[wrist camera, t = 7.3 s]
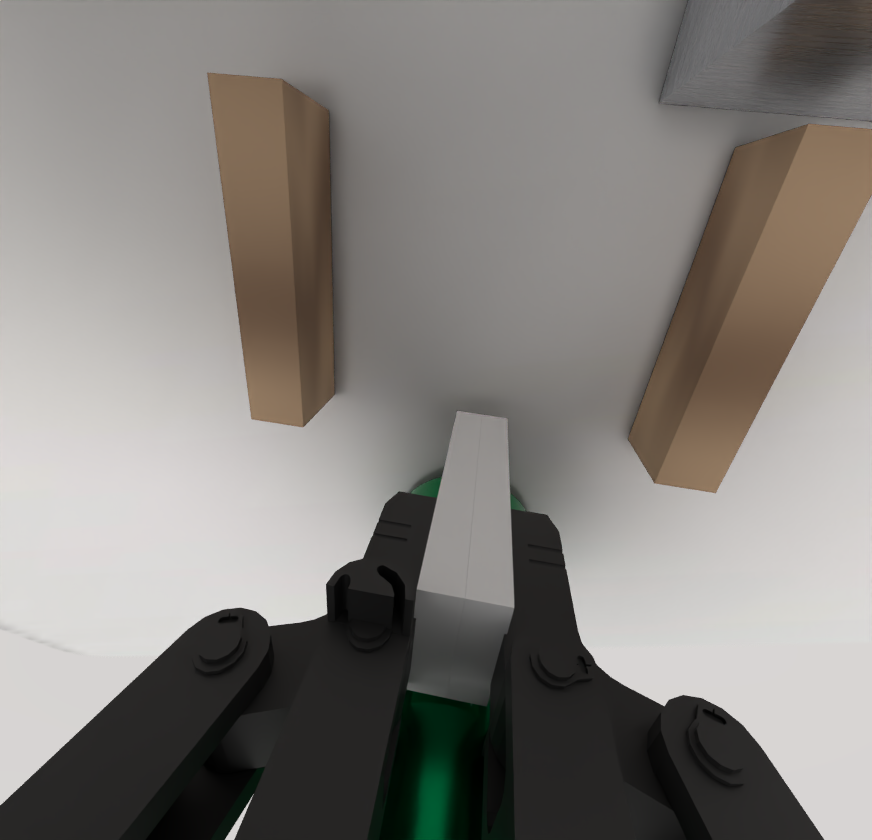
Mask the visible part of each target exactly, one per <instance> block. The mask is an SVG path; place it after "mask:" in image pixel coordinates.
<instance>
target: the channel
mask: <svg viewBox="0 0 872 840" xmlns="http://www.w3.org/2000/svg"><path fill="white" fill-rule="evenodd" d="M207 74H208V82H209V90H210V98H211V106H212V114H213V121H214V129H215V137H216V145H217V153H218V161H219V168H220V176H221V184H222V192H223V200H224V208H225V215H226V223H227V231H228V239H229V247H230V254H231V262H232V270H233V278H234V286H235V294H236V301H237V309H238V317H239V325H240V333H241V341H242V348H243V356H244V364H245V372H246V380H247V388H248V395H249V403H250V411H251V419H254V420H260V421H267V422H273V423H279V424H285V425H292V426H298V427H304V426H305V425H306V424H307V423H308V422H309V421H310V420H311V419H312V418H313V417H314V416H315V415H316V414H317V412H318V411H319V410H320V409H321V408H322V407H323V406H324V405H325V404H326V403H327V402H328V401H329V400H330V399H331V398H332V397H333V396H334V395H335V390H334V340H333V289H332V238H331V187H330V137H329V110H327V109H326V108H324V107H323V106H321V105H320V104H318V103H317V102H315V101H314V100H312V99H311V98H309V97H308V96H306V95H305V94H303V93H302V92H300V91H299V90H297V89H296V88H294V87H293V86H291V85H290V84H288V83H287V82H285V81H284V80H282V79H275V78H264V77H252V76H240V75H228V74H217V73H207ZM871 195H872V129H863V128H851V127H840V126H828V125H816V124H807V125H804V126H801V127H798V128H794V129H791V130H788V131H785V132H782V133H779V134H776V135H773V136H770V137H767V138H763V139H760V140H757V141H754V142H751V143H748V144H745V145H742V146H739V147H735V150H734V153H733V156H732V158H731V161H730V164H729V166H728V169H727V172H726V175H725V177H724V180H723V183H722V185H721V188H720V191H719V194H718V196H717V199H716V202H715V204H714V207H713V210H712V213H711V215H710V218H709V221H708V223H707V226H706V229H705V232H704V234H703V237H702V240H701V242H700V245H699V248H698V250H697V253H696V256H695V259H694V261H693V264H692V267H691V269H690V272H689V275H688V278H687V280H686V283H685V286H684V288H683V291H682V294H681V297H680V299H679V302H678V305H677V307H676V310H675V313H674V316H673V318H672V321H671V324H670V326H669V329H668V332H667V335H666V337H665V340H664V343H663V345H662V348H661V351H660V354H659V356H658V359H657V362H656V364H655V367H654V370H653V373H652V375H651V378H650V381H649V383H648V386H647V389H646V391H645V394H644V397H643V400H642V402H641V405H640V408H639V410H638V413H637V416H636V419H635V421H634V424H633V427H632V429H631V432H630V435H629V438H628V440H629V442H630V443H631V445H632V447H633V448H634V450H635V452H636V453H637V455H638V457H639V458H640V460H641V462H642V463H643V465H644V467H645V468H646V470H647V472H648V473H649V475H650V477H651V478H652V480H653V482H654V483H656V484H662V485H669V486H675V487H681V488H687V489H694V490H700V491H706V492H712V493H716V491H717V490H718V488H719V486H720V484H721V482H722V480H723V478H724V476H725V474H726V472H727V470H728V468H729V467H730V465H731V463H732V461H733V459H734V457H735V455H736V453H737V451H738V449H739V447H740V446H741V444H742V442H743V440H744V438H745V436H746V434H747V432H748V430H749V428H750V426H751V424H752V423H753V421H754V419H755V417H756V415H757V413H758V411H759V409H760V407H761V405H762V403H763V402H764V400H765V398H766V396H767V394H768V392H769V390H770V388H771V386H772V384H773V382H774V380H775V379H776V377H777V375H778V373H779V371H780V369H781V367H782V365H783V363H784V361H785V359H786V358H787V356H788V354H789V352H790V350H791V348H792V346H793V344H794V342H795V340H796V338H797V336H798V335H799V333H800V331H801V329H802V327H803V325H804V323H805V321H806V319H807V317H808V315H809V314H810V312H811V310H812V308H813V306H814V304H815V302H816V300H817V298H818V296H819V294H820V292H821V291H822V289H823V287H824V285H825V283H826V281H827V279H828V277H829V275H830V273H831V271H832V270H833V268H834V266H835V264H836V262H837V260H838V258H839V256H840V254H841V252H842V250H843V248H844V247H845V245H846V243H847V241H848V239H849V237H850V235H851V233H852V231H853V229H854V227H855V226H856V224H857V222H858V220H859V218H860V216H861V214H862V212H863V210H864V208H865V206H866V204H867V203H868V201H869V199H870V197H871Z"/></svg>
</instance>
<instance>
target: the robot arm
mask: <svg viewBox="0 0 872 840" xmlns="http://www.w3.org/2000/svg"><path fill="white" fill-rule="evenodd" d="M326 593H327V614H326V615H324V616H322V617H320V618H317V619H315V620H311V621H306V622H301V623H293V624H285V625H276V626H268V624H267V621H266V619H264V618H263V617H262V616H261V615H260V614H258V613H257V612H256V611H252V610H248V609H244V608H234V609H225V610H221V611H219V612H216V613H214V614H211V615H209V616H206V617H204V618H203V619H202V620H200V621H199V622H197V623H196V624H195V625H193V626H192V627H191V628H189V629H188V630H187V631H186V632H185V633H184V634H182V635H181V636H180V637H179V638H178V639H177V640H176V641H175V642H174V643H173V644H172V645H171V646H170V647H169V648H168V649H167V650H165V651H164V652H163V653H162V654H161V655H160V656H159V657H158V658H157V659H156V660H155V661H154V662H153V663H152V664H151V665H150V666H148V667H147V668H146V669H145V670H144V671H143V672H142V673H141V674H140V675H139V676H138V677H137V678H136V679H135V680H134V681H133V682H132V683H130V684H129V685H128V686H127V687H126V688H125V689H124V690H123V691H122V692H121V693H120V694H119V695H118V696H116V697H115V698H114V699H113V700H112V701H111V702H110V703H109V704H108V705H107V706H106V707H105V708H104V709H103V710H102V711H101V712H100V713H98V714H97V716H95V717H94V718H93V719H92V720H91V721H90V722H89V723H88V724H87V725H86V726H85V727H84V728H82V729H81V730H80V731H79V732H78V733H77V734H76V735H75V736H74V737H73V738H72V739H71V740H70V741H69V742H68V743H66V744H65V745H64V746H63V747H62V748H61V749H60V750H59V751H58V752H57V753H56V754H55V755H54V756H53V757H52V758H51V759H49V760H48V761H47V762H46V763H45V764H44V765H43V766H42V767H41V768H40V769H39V770H38V771H37V772H36V773H35V774H33V775H32V776H31V777H30V778H29V779H28V780H27V781H26V782H25V783H24V784H23V785H22V786H21V787H20V788H19V789H18V790H16V791H15V792H14V793H13V794H12V795H11V796H10V797H9V798H8V799H7V800H6V801H5V802H4V803H3V804H1V805H0V840H225V838H226V837H227V835H228V833H229V832H230V830H231V829H232V827H233V826H234V824H235V822H236V821H237V819H238V818H239V816H240V815H241V813H242V811H243V810H244V808H245V807H246V805H247V804H248V802H249V800H250V799H251V797H252V796H253V797H252V800H251V802H250V804H249V807H248V809H247V811H246V814H245V816H244V818H243V821H242V823H241V825H240V828H239V830H238V832H237V835H236V837H235V839H234V840H379V837H380V831H381V826H382V821H383V816H384V811H385V805H386V800H387V795H388V790H389V785H390V780H391V774H392V769H393V764H394V759H395V754H396V748H397V743H398V738H399V733H400V728H401V719H402V710H403V705H404V700H405V695H406V690H411V691H416V692H420V693H425V694H430V695H434V696H439V697H444V698H449V699H453V700H458V701H463V702H468V703H472V704H477V705H482V706H487V704H488V701H489V697H490V723H489V727H488V730H487V734H486V737H485V741H484V745H483V750H482V756H484V777H483V808H482V838H481V840H824V839H823V837H822V836H821V834H820V833H819V831H818V830H817V828H816V827H815V826H814V824H813V823H812V821H811V820H810V818H809V817H808V815H807V814H806V812H805V811H804V810H803V808H802V806H801V805H800V804H799V802H798V801H797V799H796V798H795V796H794V795H793V793H792V792H791V790H790V789H789V787H788V786H787V785H786V783H785V782H784V780H783V779H782V777H781V776H780V774H779V773H778V771H777V770H776V768H775V767H774V766H773V764H772V763H771V761H770V760H769V758H768V757H767V755H766V754H765V752H764V751H763V750H762V748H761V747H760V746H759V744H758V743H757V742H756V741H755V739H754V738H753V737H752V736H751V735H750V733H749V732H748V731H747V730H746V729H745V727H744V726H743V725H742V724H740V723H739V722H738V721H737V720H736V719H734V718H733V717H732V716H731V715H729V714H728V713H727V712H726V711H724V710H723V709H722V708H720V707H718V706H716V705H714V704H712V703H710V702H708V701H706V700H704V699H702V698H697V697H691V696H685V695H682V696H679V697H676V698H673V699H670V700H669V701H668V702H667V704H666V705H665V706H663V705H660V704H659V703H657V702H655V701H653V700H651V699H649V698H647V697H645V696H643V695H641V694H639V693H637V692H636V691H634V690H631V689H630V688H628V687H626V686H624V685H622V684H621V683H619V682H618V681H616V680H614V679H613V678H611V677H610V676H609V675H608V674H606V673H605V672H604V671H603V670H602V669H601V668H599V667H598V666H597V664H596V663H595V661H594V658H593V657H592V655H591V654H590V653H589V652H588V650H587V649H586V648H585V647H584V645H583V644H582V642H581V639H580V636H579V633H578V629H577V624H576V618H575V613H574V608H573V603H572V597H571V592H570V587H569V582H568V576H567V571H566V569H565V561H564V555H563V554H562V545H561V540H560V535H559V531H558V530H557V528H556V527H555V525H554V524H553V523H552V521H551V520H550V518H549V517H548V516H547V515H544V514H538V513H532V512H527V511H521V510H515V509H511V504H510V478H509V452H508V426H507V418H502V417H495V416H489V415H482V414H475V413H469V412H462V411H457V413H456V418H455V422H454V426H453V431H452V435H451V440H450V444H449V448H448V453H447V457H446V462H445V466H444V471H443V475H442V479H441V484H440V488H439V493H438V497H437V498H435V497H429V496H423V495H417V494H411V493H405V492H400V491H399V492H398V493H397V494H396V495H395V496H393V497H392V498H391V499H390V500H389V501H388V502H387V503H385V506H384V508H383V511H382V513H381V516H380V518H379V522H378V523H377V526H376V528H375V530H374V533H373V536H372V538H371V540H370V543H369V545H368V548H367V550H366V553H365V555H364V558H363V559H360V560H357V561H353V562H349V563H348V564H346V565H345V566H343V567H342V568H340V569H339V570H337V571H336V572H335V573H334V574H333V576H332V577H331V578H330V580H329V581H328V582H327V584H326ZM253 794H254V795H253Z"/></svg>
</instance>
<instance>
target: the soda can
mask: <svg viewBox="0 0 872 840" xmlns="http://www.w3.org/2000/svg"><path fill="white" fill-rule="evenodd" d="M441 479H442V477H439V478H436V479H433V480H430V481H428V482H425V483H423V484H421V485H420V486H418V487H417V488H416V489H414V490H413V491H412V492H411V494H417V495H423V496H429V497H435V498H437V497H438V493H439V488H440V484H441ZM510 504H511V509H515V510H521V511H526V510H525V509H524V507H523V506H522V504H521V503H520V502H519V501H518V500H517V499H516V498H515V497H514V496H513V495H512V494H511V493H510ZM489 723H490V697H489V701H488V704H487V706H482V705H477V704H472V703H468V702H463V701H458V700H453V699H449V698H444V697H439V696H434V695H430V694H425V693H420V692H416V691H411V690H406V695H405V700H404V705H403V710H402V719H401V728H400V733H399V738H398V743H397V748H396V754H395V759H394V764H393V769H392V774H391V780H390V785H389V790H388V795H387V800H386V805H385V811H384V816H383V821H382V826H381V831H380V837H379V840H481V838H482V808H483V777H484V756H482V750H483V745H484V741H485V737H486V734H487V730H488V727H489Z"/></svg>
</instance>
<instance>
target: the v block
mask: <svg viewBox="0 0 872 840" xmlns="http://www.w3.org/2000/svg"><path fill="white" fill-rule="evenodd" d="M659 103H661V104H673V105H685V106H697V107H709V108H721V109H733V110H745V111H756V112H768V113H780V114H792V115H804V116H816V117H828V118H840V119H852V120H864V121H872V0H688V3H687V6H686V10H685V13H684V17H683V20H682V24H681V27H680V31H679V34H678V38H677V41H676V45H675V48H674V52H673V55H672V59H671V63H670V66H669V70H668V73H667V77H666V80H665V84H664V87H663V91H662V94H661V98H660V101H659Z"/></svg>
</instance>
